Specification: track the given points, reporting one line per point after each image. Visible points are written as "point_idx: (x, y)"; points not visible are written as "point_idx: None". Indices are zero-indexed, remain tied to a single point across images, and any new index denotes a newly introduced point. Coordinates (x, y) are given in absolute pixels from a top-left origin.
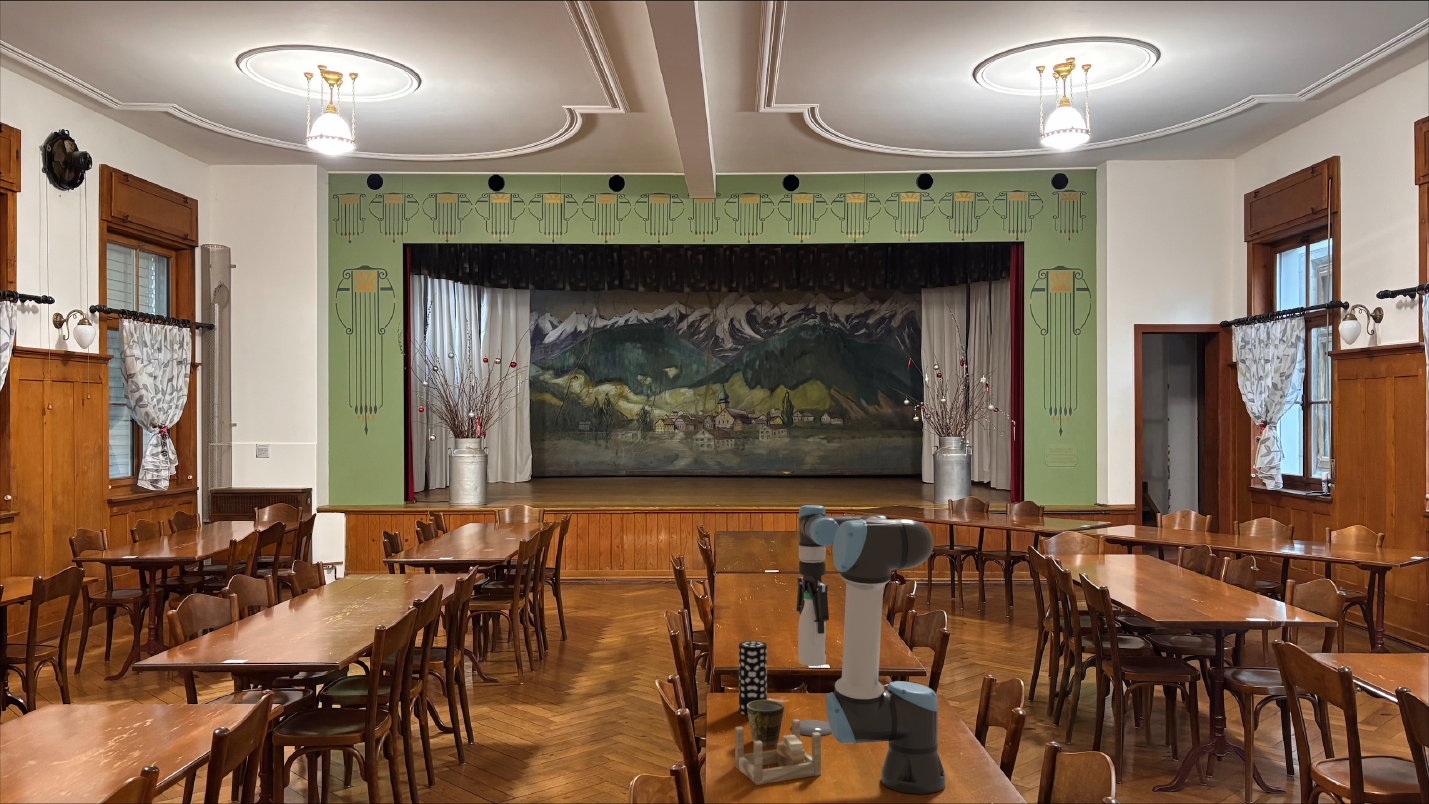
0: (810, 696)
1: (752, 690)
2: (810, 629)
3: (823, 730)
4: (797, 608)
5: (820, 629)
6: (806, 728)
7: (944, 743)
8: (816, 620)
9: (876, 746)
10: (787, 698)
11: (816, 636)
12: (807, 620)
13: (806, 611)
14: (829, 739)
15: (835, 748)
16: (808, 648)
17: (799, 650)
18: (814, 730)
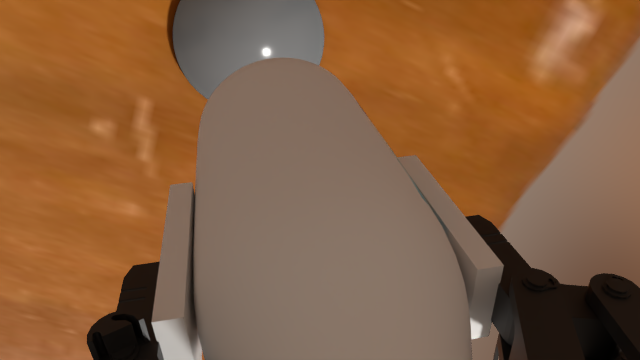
0: (531, 152)
1: None
2: (207, 227)
3: (203, 61)
4: (617, 295)
5: (123, 299)
6: (239, 12)
7: (42, 327)
8: (88, 341)
9: (35, 165)
10: (553, 81)
11: (167, 230)
12: (240, 264)
13: (306, 341)
14: (128, 51)
15: (27, 32)
16: (213, 131)
17: (291, 80)
18: (211, 31)
